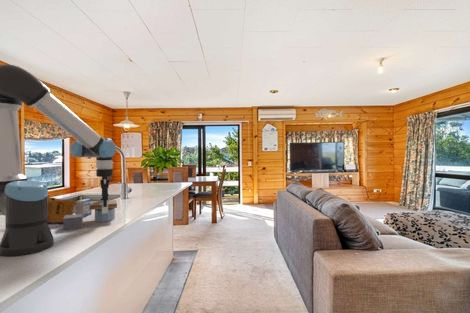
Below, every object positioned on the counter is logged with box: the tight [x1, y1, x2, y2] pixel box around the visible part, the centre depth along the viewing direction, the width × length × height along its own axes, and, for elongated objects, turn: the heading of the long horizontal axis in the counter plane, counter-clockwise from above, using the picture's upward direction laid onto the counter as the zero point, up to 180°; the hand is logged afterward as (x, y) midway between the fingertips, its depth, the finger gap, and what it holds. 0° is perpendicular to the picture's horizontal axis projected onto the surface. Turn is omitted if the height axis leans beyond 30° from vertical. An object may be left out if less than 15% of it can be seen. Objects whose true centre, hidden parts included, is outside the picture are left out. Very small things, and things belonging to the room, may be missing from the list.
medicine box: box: [74, 198, 93, 218], centre depth 140 cm, size 8×4×9 cm, turn 179°
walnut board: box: [89, 199, 118, 210], centre depth 132 cm, size 12×12×2 cm
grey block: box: [62, 213, 84, 231], centre depth 118 cm, size 7×7×5 cm
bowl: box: [94, 208, 116, 222], centre depth 132 cm, size 9×9×6 cm
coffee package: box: [48, 196, 78, 223], centre depth 127 cm, size 10×12×22 cm
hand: (104, 210), depth 132 cm, fingers closed on walnut board, 12 cm apart
